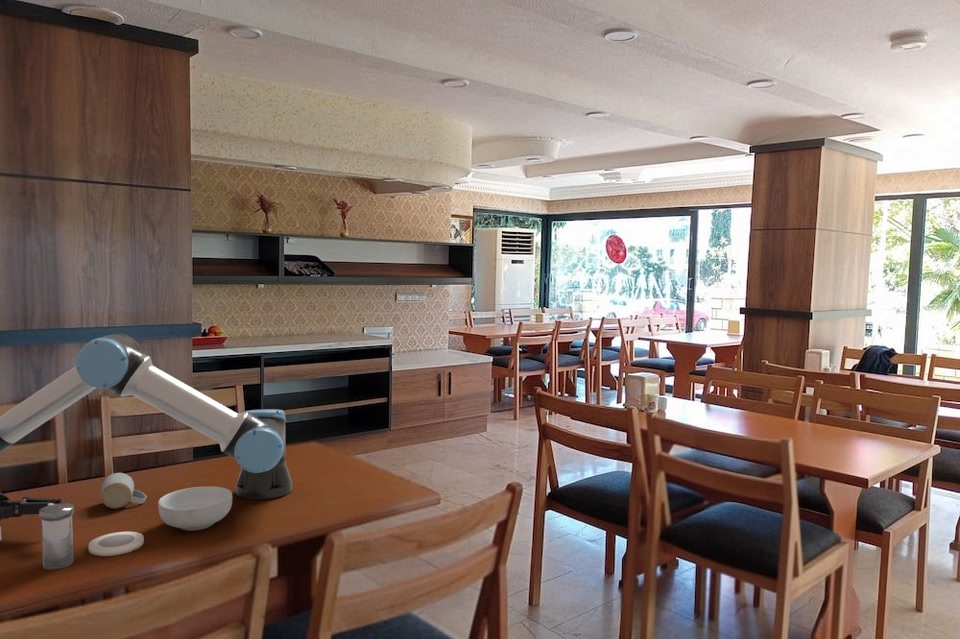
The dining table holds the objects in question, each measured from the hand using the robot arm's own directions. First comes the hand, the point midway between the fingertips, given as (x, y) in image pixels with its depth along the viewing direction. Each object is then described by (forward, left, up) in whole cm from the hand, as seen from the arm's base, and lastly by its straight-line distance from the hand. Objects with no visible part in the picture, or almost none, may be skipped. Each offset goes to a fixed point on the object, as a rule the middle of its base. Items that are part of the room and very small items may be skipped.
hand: (33, 524), depth 153 cm
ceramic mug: (-2, -33, -7) cm, 34 cm away
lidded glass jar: (-8, +4, -7) cm, 11 cm away
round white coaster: (-15, -6, -7) cm, 17 cm away
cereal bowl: (-27, -20, -7) cm, 34 cm away
